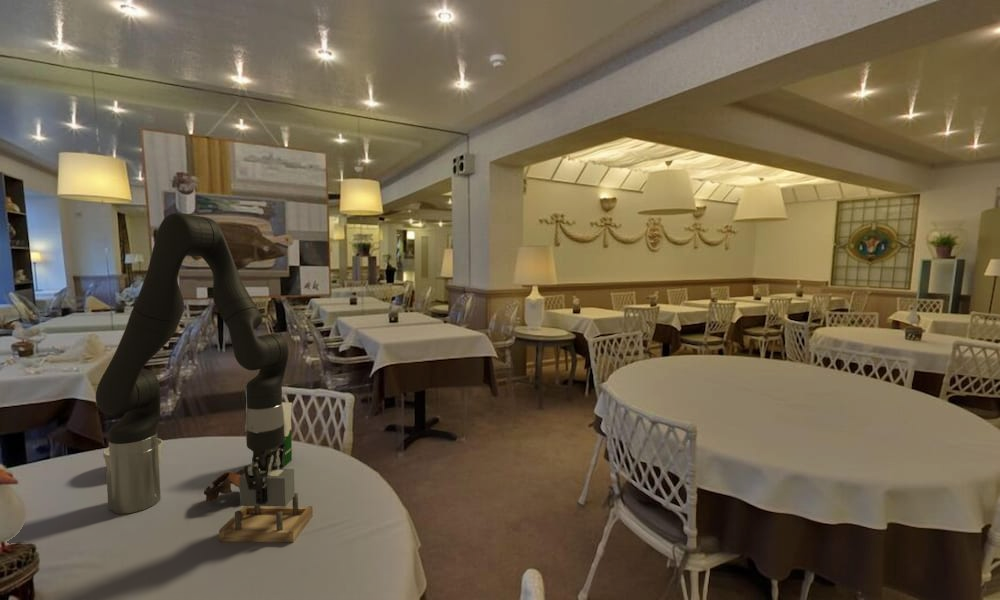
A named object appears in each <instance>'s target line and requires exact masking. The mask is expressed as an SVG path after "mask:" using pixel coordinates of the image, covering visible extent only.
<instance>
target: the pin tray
mask: <svg viewBox="0 0 1000 600" xmlns="http://www.w3.org/2000/svg"><path fill="white" fill-rule="evenodd" d="M312 518H313V505H308V506H306V507H305V506H299V493H298V492H295V496H294V497H293V498H292V506H285V507H281V506H242V508H241V509H240V510H236V511H235V512H234V515H233V516H232V517H231V518H230V519H229V520H228V521H227V522H226V523H225V524H224V525H223V526H222V527H221V528H220V529H219V530H218V531H219V532H218V533H219V542H243V543H244V542H245V543H247V542H248V543H294V542H295V541H296V540H297V539H298V537H299V536H300V534H301V533H302V531H303V530H304V529H305V528H306V526H307V524H308V523H309V522H310V520H311V519H312Z"/></svg>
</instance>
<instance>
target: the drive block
mask: <svg viewBox="0 0 1000 600" xmlns="http://www.w3.org/2000/svg"><path fill="white" fill-rule="evenodd" d="M265 472H266V471H260V473H265ZM261 480H262V482H263V478H262V477H261ZM239 485H240V489H239V506H240V507H244V506H265V507H287V505H288V504H289V503H290V502H291V500H292V501H293V497H294V496H295V493H296V491H295V469H294V468H283V469H271V473H270V476H269V477H268V478H267V486H266V487H267V502H266V503H265V504H257V503H256V490H249V489H248V485H247V481H246V477H245V473H244V474H243V475H242V476H241V477H240V478H239Z"/></svg>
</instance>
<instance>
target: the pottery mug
mask: <svg viewBox="0 0 1000 600" xmlns="http://www.w3.org/2000/svg"><path fill="white" fill-rule="evenodd" d="M244 468H245V467H243V468H240V469H239V470H238V471H236V473H234V472H233V471H232V470H229V471H226V472H224V473H223V474H221V475H219V476H218V477H217V478H215V480H213V481H212V482H211V484H212V485H213V486H212V487H211V486H210V485H208V486H207V487H206V488H205V489H204V492H203V494H204V495H205V496H206V497H205V501H206V503H211V502H213V501H214V502H217V503H218V502H219V495H220V494H221V495H224V494H226V495H229V494H232V493H233V490H232V489H231V488H232V487H231V486H232V485H234V486H235V487H237V488H238V489H239V490H240V485H239V478H240V477H241V476H242V475H243V474H244V473H245V472H244ZM231 484H232V485H231Z"/></svg>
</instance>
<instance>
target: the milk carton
mask: <svg viewBox="0 0 1000 600" xmlns="http://www.w3.org/2000/svg"><path fill="white" fill-rule="evenodd" d="M292 404H293V403H292V402H284V401H282V405H283V411H284V442H283V443H286V448H285V458H284V467H283V469H285V467H286V466H287V465H288V464H289V463H290V462H291V461H292V460H293V456H292V455H293V454H292V453H293V449H292V447H293V445H292V444H293V443H292V408H293V406H292Z"/></svg>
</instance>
